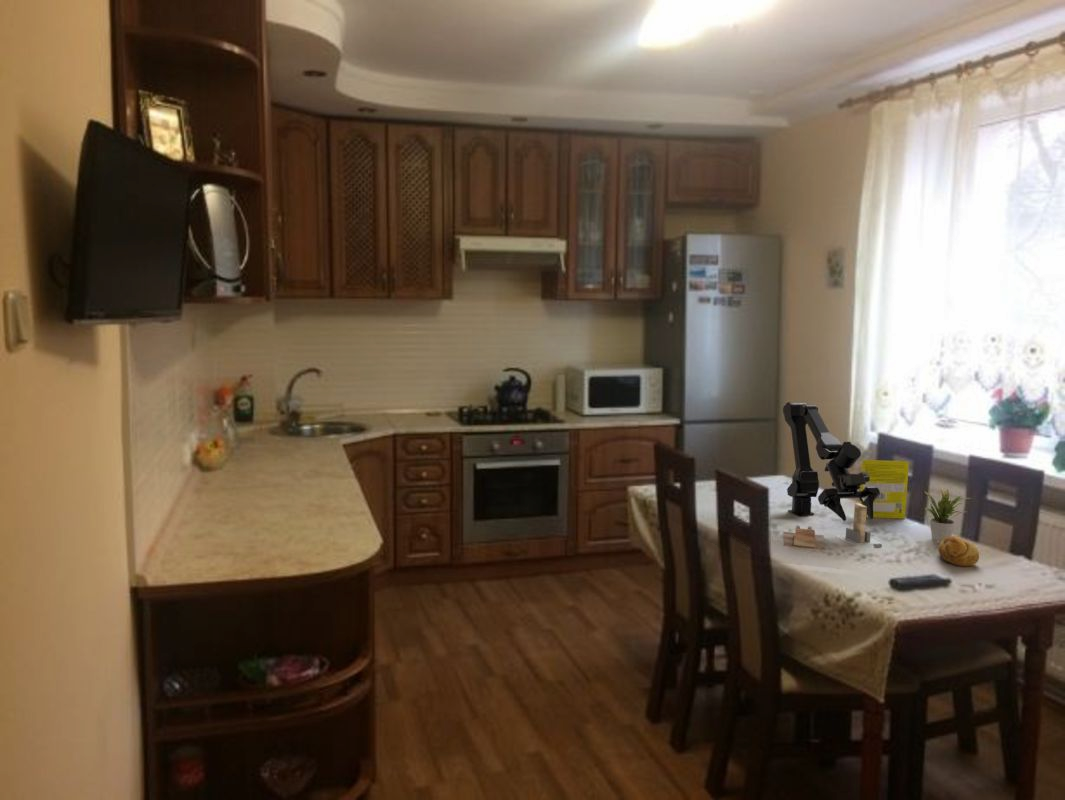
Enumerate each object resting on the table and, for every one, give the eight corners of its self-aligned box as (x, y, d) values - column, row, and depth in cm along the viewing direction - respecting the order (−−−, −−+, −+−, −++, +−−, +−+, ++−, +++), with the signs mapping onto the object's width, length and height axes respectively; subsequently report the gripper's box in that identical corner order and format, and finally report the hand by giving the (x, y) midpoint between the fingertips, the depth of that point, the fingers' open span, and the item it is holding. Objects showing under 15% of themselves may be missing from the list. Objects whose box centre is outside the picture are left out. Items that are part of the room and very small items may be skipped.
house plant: (978, 549, 253) (982, 496, 250) (931, 547, 253) (935, 495, 251) (956, 535, 267) (961, 485, 265) (912, 534, 267) (916, 484, 265)
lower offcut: (793, 541, 255) (794, 534, 254) (814, 543, 253) (815, 536, 253) (794, 545, 251) (794, 537, 251) (815, 547, 249) (815, 539, 249)
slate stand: (833, 538, 261) (834, 526, 261) (862, 537, 263) (863, 524, 263) (852, 548, 252) (853, 535, 251) (881, 546, 254) (882, 533, 253)
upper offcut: (795, 534, 254) (795, 528, 254) (814, 536, 253) (814, 529, 252) (795, 537, 251) (796, 531, 250) (814, 539, 249) (814, 533, 249)
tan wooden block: (852, 538, 259) (854, 503, 257) (856, 537, 259) (859, 503, 258) (860, 541, 255) (862, 506, 253) (864, 541, 255) (866, 506, 254)
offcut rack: (783, 534, 265) (783, 522, 264) (823, 538, 261) (823, 526, 261) (783, 548, 250) (784, 535, 250) (825, 552, 247) (826, 539, 247)
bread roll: (930, 553, 248) (932, 527, 247) (964, 554, 247) (966, 528, 246) (948, 568, 235) (950, 540, 234) (984, 569, 234) (986, 541, 233)
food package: (904, 518, 286) (908, 461, 284) (905, 519, 285) (909, 461, 282) (858, 516, 288) (862, 459, 285) (859, 517, 287) (862, 460, 284)
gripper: (825, 463, 258) (843, 507, 248) (879, 461, 261) (898, 505, 252) (810, 482, 266) (826, 525, 257) (862, 480, 270) (880, 522, 261)
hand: (858, 519), depth 257 cm, fingers open, 9 cm apart
